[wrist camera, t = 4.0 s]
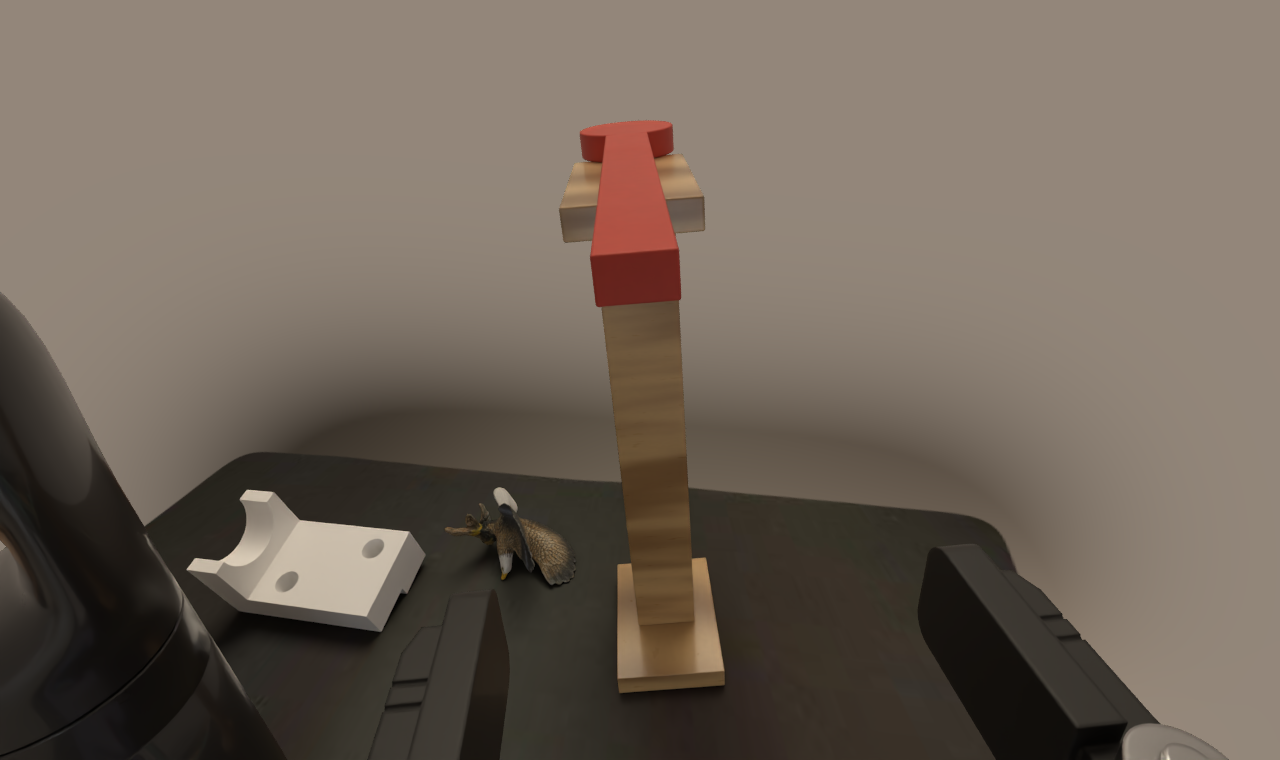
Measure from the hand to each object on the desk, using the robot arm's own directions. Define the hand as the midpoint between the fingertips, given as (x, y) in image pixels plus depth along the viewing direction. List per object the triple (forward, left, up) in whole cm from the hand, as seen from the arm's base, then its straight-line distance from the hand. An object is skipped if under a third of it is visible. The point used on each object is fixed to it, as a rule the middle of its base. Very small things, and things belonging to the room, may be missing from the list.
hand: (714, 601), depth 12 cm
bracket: (-36, +17, -29) cm, 49 cm away
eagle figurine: (-22, +24, -29) cm, 44 cm away
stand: (-9, +21, -29) cm, 37 cm away
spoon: (-8, +18, +3) cm, 20 cm away
